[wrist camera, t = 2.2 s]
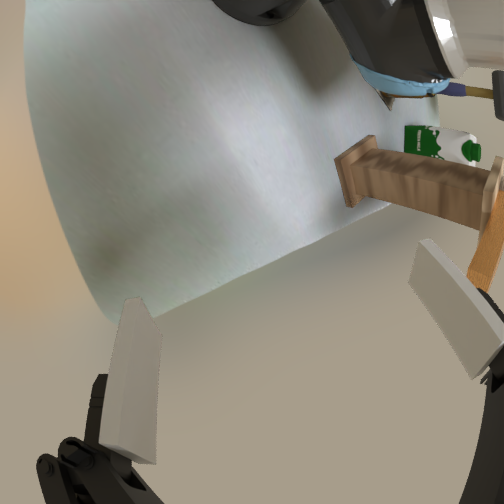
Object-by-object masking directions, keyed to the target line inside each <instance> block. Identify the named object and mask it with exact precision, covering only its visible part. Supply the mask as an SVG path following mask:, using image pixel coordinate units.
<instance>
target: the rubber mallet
mask: <svg viewBox="0 0 504 504" xmlns="http://www.w3.org/2000/svg"><path fill="white" fill-rule="evenodd" d="M492 84H493V90H490V89H484V88H477V87H470V86H465V85H463V84H458V83H451V82H449V84H448V86H447V87H446V88H445V89H444V90H442V91H440V92H438V93H436V94H444V95H449V96H475V97H483V98H489V99H494V107H495V116H496V118H498V119H499V120H502V121H504V71H499V70H497V71H493V73H492Z"/></svg>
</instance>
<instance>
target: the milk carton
mask: <svg viewBox="0 0 504 504" xmlns="http://www.w3.org/2000/svg"><path fill="white" fill-rule="evenodd" d="M404 153H410V154H416V155H421V156H427V157H432V158H437V159H442V160H447V161H452V162H456V163H461V164H465V165H469V166H473V167H475V161H477V162H479V161H480V158H481V147H480V144H476V137H475V136H473V135H472V134H470V133H467V132H463V131H458V130H454V129H447V128H441V127H433V126H405V147H404Z"/></svg>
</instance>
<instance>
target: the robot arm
mask: <svg viewBox="0 0 504 504" xmlns="http://www.w3.org/2000/svg"><path fill="white" fill-rule="evenodd" d="M213 1H214V2H215V3H216V4H217V5H218V6H219V7H220V8H221V9H222V10H223V11H225V12H226V13H227V14H229V15H231V16H232V17H234V18H236V19H238V20H240V21H243V22H246V23H249V24H253V25H262V26H264V25H272V24H276V23H278V22H280V21H283V20H285V19H287V18H289V17H290V16H292V15H293V14H294V13H295V12H296V11H297V10H298V9H299V8H300V7H301V6H302V5H303V4H304V3H305V2H306V0H213ZM319 1H320V2H321V4H322V6H323V7H324V9H325V10H326V12H327V14H328V15H329V17H330V18H331V20H332V22H333V23H334V25H335V27H336V28H337V30H338V32H339V33H340V35H341V37H342V39H343V41H344V42H345V44H346V46H347V48H348V50H349V52H350V57H351V59H352V61H353V62H354V63H355V64H356V65H357V67H358V69H359V70H360V72H361V74H362V76H363V78H364V79H365V81H366V82H368V83H369V84H370V85H371V86H372V87H374V88H375V89H377V90H380V91H382V92H385V93H389V94H394V95H401V96H424V95H426V93H432V94H435V93H438V92H440V91H442V90H444V89H445V88H446V87H447V86H448V84H449V80H450V78H457V79H458V78H460V77H461V76H462V75H463V73H464V72H465V71H466V70H467V68H469V67H481V68H491V69H499V70H504V0H319ZM408 283H409V285H410V286H411V288H412V289H413V290H414V292H415V293H416V295H417V296H418V297H419V299H420V300H421V301H422V303H423V304H424V306H425V307H426V309H427V310H428V311H429V313H430V314H431V316H432V317H433V319H434V320H435V322H436V323H437V325H438V326H439V328H440V329H441V331H442V332H443V334H444V335H445V337H446V338H447V340H448V341H449V343H450V345H451V346H452V348H453V350H454V351H455V353H456V355H457V356H458V358H459V360H460V361H461V363H462V365H463V366H464V368H465V370H466V372H467V373H468V375H469V377H470V379H471V380H472V379H474V378H475V377H477V376H479V375H480V374H482V373H483V371H484V370H485V369H486V368H487V367H488V366H489V367H490V370H489V371H488V372H487V373H486V374H485V376H484V377H483V378H482V379H481V382H480V384H482V383H483V382H484V381H485V380H486V379H487V381H486V382H485V385H487V389H486V399H485V406H484V413H483V418H482V424H481V429H480V434H479V439H478V444H477V448H476V452H475V456H474V459H473V463H472V467H471V470H470V473H469V477H468V479H467V482H466V485H465V488H464V491H463V494H462V497H461V499H460V502H459V504H504V314H503V312H502V311H501V310H500V309H499V308H498V306H497V305H496V303H494V301H493V300H492V298H491V297H490V296H489V295H488V294H487V293H486V292H485V291H483V290H482V289H480V288H475V286H474V285H473V284H472V283H471V282H470V281H469V279H468V278H467V277H466V276H465V275H464V274H463V273H462V272H461V270H460V269H459V268H458V267H457V266H456V265H455V264H454V263H453V262H452V261H451V260H450V259H449V257H448V256H447V255H446V254H445V253H444V252H443V251H442V250H441V249H440V248H439V247H438V246H437V245H436V244H435V243H434V242H433V241H432V240H431V239H430V238H429V239H424V240H421V241H419V242H418V246H417V250H416V254H415V259H414V262H413V266H412V270H411V274H410V278H409V281H408ZM161 343H162V334H161V333H160V331H159V329H158V328H157V326H156V324H155V322H154V321H153V319H152V317H151V315H150V313H149V312H148V310H147V308H146V306H145V304H144V302H143V301H142V299H141V297H137V298H131V299H126V300H125V303H124V307H123V311H122V315H121V319H120V323H119V327H118V331H117V336H116V340H115V344H114V349H113V353H112V358H111V363H110V369H109V374H99V375H98V377H97V379H96V380H95V382H94V384H93V387H92V393H91V399H90V403H89V406H90V408H89V409H88V415H87V422H86V429H85V437H84V442H83V441H81V440H80V439H77V438H76V437H68V438H66V439H64V440H63V441H62V442H61V443H60V446H59V448H58V457H57V458H56V457H54V456H52V455H50V454H43V455H41V456H40V457H39V459H38V460H37V464H36V469H37V474H38V478H39V482H40V486H41V489H42V493H43V496H44V499H45V502H46V504H164V503H163V502H162V501H161V500H160V498H158V496H157V495H156V494H155V493H154V492H153V491H152V490H151V488H150V487H149V486H148V485H147V484H146V483H145V481H144V480H143V479H142V478H141V477H140V475H139V474H138V473H137V472H136V470H135V469H134V468H133V467H132V466H131V465H132V464H131V463H132V462H131V461H134V462H136V463H138V464H156V424H157V422H156V421H157V397H158V381H159V367H160V354H161Z"/></svg>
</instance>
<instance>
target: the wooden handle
mask: <svg viewBox="0 0 504 504" xmlns="http://www.w3.org/2000/svg"><path fill="white" fill-rule="evenodd" d="M503 249H504V176H503V175H502V176H501V180H500V186H499V191H498V194H497V197H496V200H495V203H494V206H493V209H492V212H491V215H490V218H489V220H488V223H487V226H486V228H485V231H484V233H483V236H482V238H481V241H480V243H479V246H478V248H477V250H476V252H475V255H474V257H473V259H472V261H471V263H470V265H469V267H468V272H467V278H468V279H469V281H470V282H471V283H472V284H473V285H474V286H475V288H480V289H482V290H483V291H485V292H486V293H487V294H488V291H489V289H490V286H491V284H492V281H493V278H494V276H495V273H496V270H497V268H498V264H499V262H500V259H501V256H502V253H503Z"/></svg>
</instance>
